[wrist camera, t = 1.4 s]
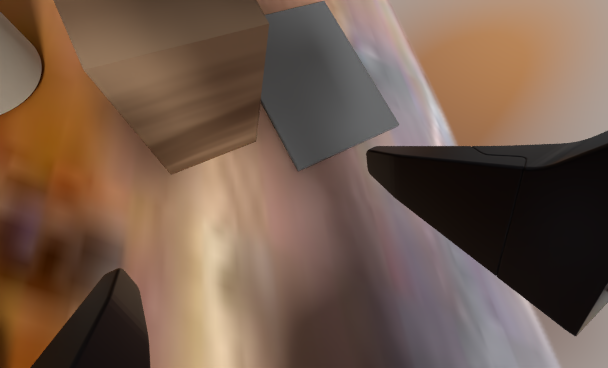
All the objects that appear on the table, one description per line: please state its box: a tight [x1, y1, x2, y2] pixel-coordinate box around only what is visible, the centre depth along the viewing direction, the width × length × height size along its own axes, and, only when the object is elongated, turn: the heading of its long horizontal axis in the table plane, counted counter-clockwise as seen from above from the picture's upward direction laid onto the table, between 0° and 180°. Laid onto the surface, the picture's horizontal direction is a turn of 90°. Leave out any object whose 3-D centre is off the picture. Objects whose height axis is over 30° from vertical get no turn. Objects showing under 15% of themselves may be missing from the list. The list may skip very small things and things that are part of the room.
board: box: [54, 0, 269, 174], centre depth 16 cm, size 4×7×12 cm, turn 118°
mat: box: [261, 1, 399, 171], centre depth 25 cm, size 15×11×1 cm
